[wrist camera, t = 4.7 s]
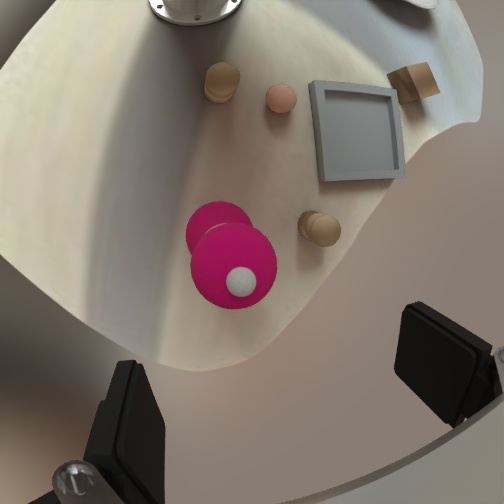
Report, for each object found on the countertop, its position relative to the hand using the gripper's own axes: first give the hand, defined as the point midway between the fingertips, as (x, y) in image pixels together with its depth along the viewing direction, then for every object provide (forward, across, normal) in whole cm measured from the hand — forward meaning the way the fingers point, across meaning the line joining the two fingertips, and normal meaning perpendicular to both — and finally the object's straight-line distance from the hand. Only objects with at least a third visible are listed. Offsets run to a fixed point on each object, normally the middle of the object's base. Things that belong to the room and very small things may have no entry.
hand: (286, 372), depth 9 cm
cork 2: (+28, -12, +1) cm, 30 cm away
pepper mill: (+28, 0, 0) cm, 28 cm away
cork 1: (+28, -2, -17) cm, 33 cm away
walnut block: (+28, -30, -19) cm, 45 cm away
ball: (+26, -9, -15) cm, 31 cm away
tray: (+28, -20, -11) cm, 36 cm away
